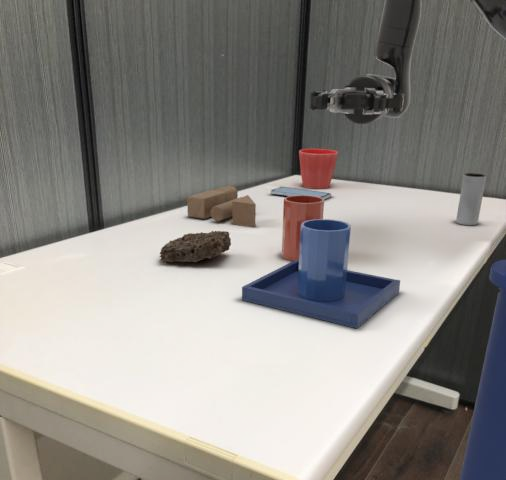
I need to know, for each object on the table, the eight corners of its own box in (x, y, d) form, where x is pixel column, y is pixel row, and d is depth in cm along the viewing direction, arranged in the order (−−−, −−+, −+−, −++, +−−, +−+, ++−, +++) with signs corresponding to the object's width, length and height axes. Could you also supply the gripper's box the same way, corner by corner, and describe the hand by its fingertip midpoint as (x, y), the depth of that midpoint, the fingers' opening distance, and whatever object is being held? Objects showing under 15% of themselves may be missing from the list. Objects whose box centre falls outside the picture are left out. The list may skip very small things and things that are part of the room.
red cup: (327, 254, 102) (331, 198, 98) (309, 264, 97) (312, 205, 92) (293, 248, 105) (296, 193, 101) (274, 257, 100) (276, 200, 96)
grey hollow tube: (469, 220, 128) (477, 172, 123) (481, 224, 124) (490, 176, 119) (451, 221, 127) (459, 173, 122) (463, 226, 123) (471, 176, 118)
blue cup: (352, 291, 84) (358, 223, 79) (332, 305, 78) (337, 233, 74) (311, 282, 87) (315, 216, 83) (289, 295, 82) (292, 226, 78)
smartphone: (321, 198, 144) (269, 190, 150) (320, 202, 144) (269, 194, 151) (332, 193, 149) (282, 186, 156) (332, 197, 150) (282, 189, 156)
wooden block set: (183, 192, 123) (225, 180, 138) (184, 218, 126) (226, 204, 140) (253, 200, 116) (289, 187, 131) (252, 228, 118) (288, 211, 133)
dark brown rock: (237, 254, 101) (237, 226, 99) (218, 271, 93) (217, 241, 91) (177, 248, 104) (176, 220, 102) (153, 264, 96) (151, 234, 93)
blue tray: (398, 293, 85) (400, 280, 84) (356, 328, 73) (358, 314, 72) (294, 271, 93) (295, 259, 92) (241, 300, 81) (241, 286, 80)
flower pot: (341, 189, 160) (344, 152, 156) (304, 190, 157) (306, 153, 153) (327, 182, 169) (329, 148, 165) (292, 183, 167) (293, 148, 162)
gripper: (328, 74, 98) (302, 74, 85) (413, 75, 94) (400, 75, 80) (325, 120, 101) (299, 128, 88) (407, 124, 97) (393, 132, 83)
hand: (347, 103), depth 84 cm, fingers open, 8 cm apart
